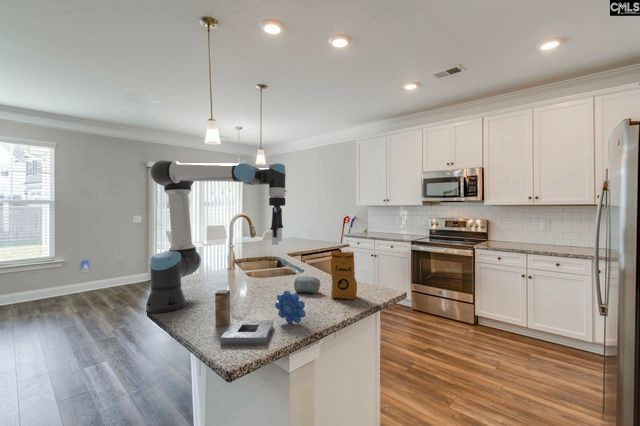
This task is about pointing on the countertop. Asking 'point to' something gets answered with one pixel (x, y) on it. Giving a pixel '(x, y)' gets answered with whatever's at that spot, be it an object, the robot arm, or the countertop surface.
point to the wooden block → (222, 308)
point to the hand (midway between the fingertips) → (277, 243)
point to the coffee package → (343, 276)
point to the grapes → (290, 307)
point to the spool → (307, 284)
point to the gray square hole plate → (247, 333)
